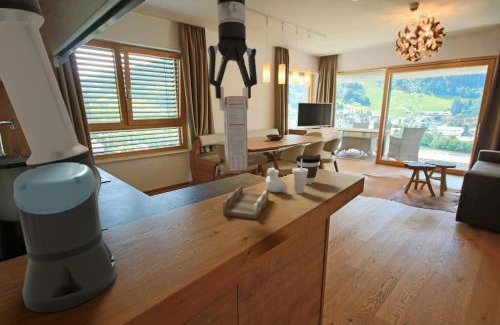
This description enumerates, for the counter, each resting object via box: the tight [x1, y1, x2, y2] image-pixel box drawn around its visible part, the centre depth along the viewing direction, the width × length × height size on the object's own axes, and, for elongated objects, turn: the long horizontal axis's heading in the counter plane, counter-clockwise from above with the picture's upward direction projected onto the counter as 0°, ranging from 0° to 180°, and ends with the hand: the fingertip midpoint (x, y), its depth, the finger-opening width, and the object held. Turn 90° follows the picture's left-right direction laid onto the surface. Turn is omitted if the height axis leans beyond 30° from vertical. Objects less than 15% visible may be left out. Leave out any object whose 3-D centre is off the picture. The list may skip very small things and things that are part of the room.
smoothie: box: [291, 159, 308, 195], centre depth 101 cm, size 6×6×14 cm
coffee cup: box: [295, 154, 321, 185], centre depth 115 cm, size 11×11×12 cm
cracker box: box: [222, 95, 249, 173], centre depth 75 cm, size 14×6×21 cm, turn 9°
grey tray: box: [222, 185, 270, 220], centre depth 88 cm, size 18×11×5 cm, turn 164°
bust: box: [265, 166, 288, 194], centre depth 103 cm, size 12×8×11 cm
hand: (233, 110), depth 74 cm, fingers closed on cracker box, 6 cm apart
